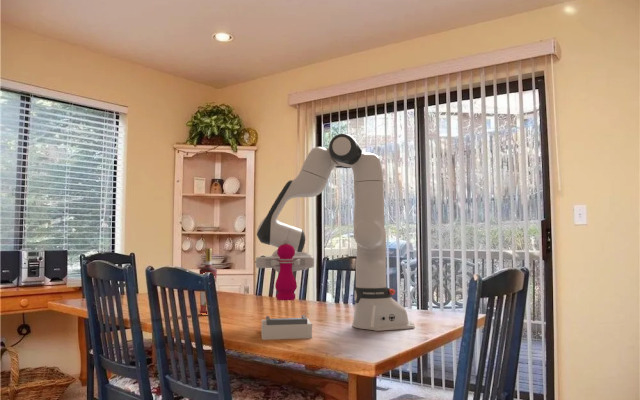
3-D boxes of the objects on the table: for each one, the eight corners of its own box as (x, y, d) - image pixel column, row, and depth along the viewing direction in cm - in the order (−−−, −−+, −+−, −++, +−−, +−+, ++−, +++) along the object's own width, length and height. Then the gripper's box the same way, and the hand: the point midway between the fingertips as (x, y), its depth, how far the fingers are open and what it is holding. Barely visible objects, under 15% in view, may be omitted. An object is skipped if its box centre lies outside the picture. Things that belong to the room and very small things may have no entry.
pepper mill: (299, 298, 162) (299, 239, 163) (292, 301, 155) (292, 239, 156) (280, 297, 164) (280, 239, 165) (271, 300, 157) (272, 239, 158)
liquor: (217, 313, 206) (217, 248, 209) (215, 315, 199) (216, 248, 201) (199, 313, 205) (200, 248, 208) (197, 316, 198) (198, 248, 201)
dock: (307, 329, 167) (307, 312, 168) (312, 338, 153) (311, 319, 154) (261, 331, 165) (261, 313, 165) (262, 339, 151) (262, 320, 152)
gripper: (255, 252, 172) (255, 254, 158) (311, 252, 175) (316, 253, 161) (254, 270, 171) (255, 273, 158) (311, 269, 174) (316, 272, 161)
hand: (286, 263), depth 159 cm, fingers closed on pepper mill, 5 cm apart
